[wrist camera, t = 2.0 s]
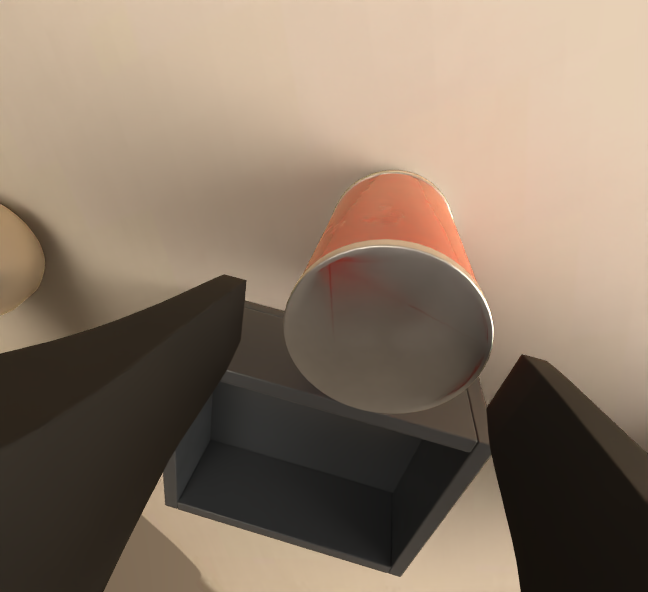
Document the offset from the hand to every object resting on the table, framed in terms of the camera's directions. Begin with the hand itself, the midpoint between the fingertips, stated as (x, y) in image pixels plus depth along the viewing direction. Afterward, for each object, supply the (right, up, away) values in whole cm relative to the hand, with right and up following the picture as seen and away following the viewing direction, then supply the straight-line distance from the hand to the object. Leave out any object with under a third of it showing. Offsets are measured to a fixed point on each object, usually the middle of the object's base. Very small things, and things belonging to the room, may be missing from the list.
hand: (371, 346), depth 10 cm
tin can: (+2, +4, +7) cm, 8 cm away
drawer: (-2, -6, +13) cm, 14 cm away
